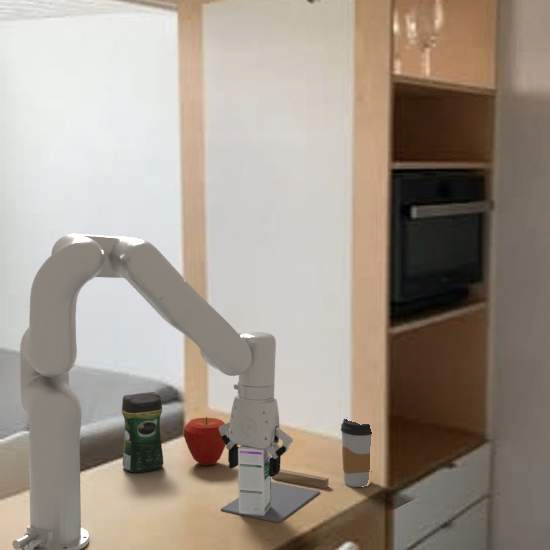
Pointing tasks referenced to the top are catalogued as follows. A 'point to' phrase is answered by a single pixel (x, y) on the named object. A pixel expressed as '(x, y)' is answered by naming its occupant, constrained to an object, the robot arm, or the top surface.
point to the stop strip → (302, 478)
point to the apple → (204, 440)
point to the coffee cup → (356, 453)
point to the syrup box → (254, 480)
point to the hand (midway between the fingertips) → (253, 470)
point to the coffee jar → (142, 432)
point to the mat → (279, 502)
